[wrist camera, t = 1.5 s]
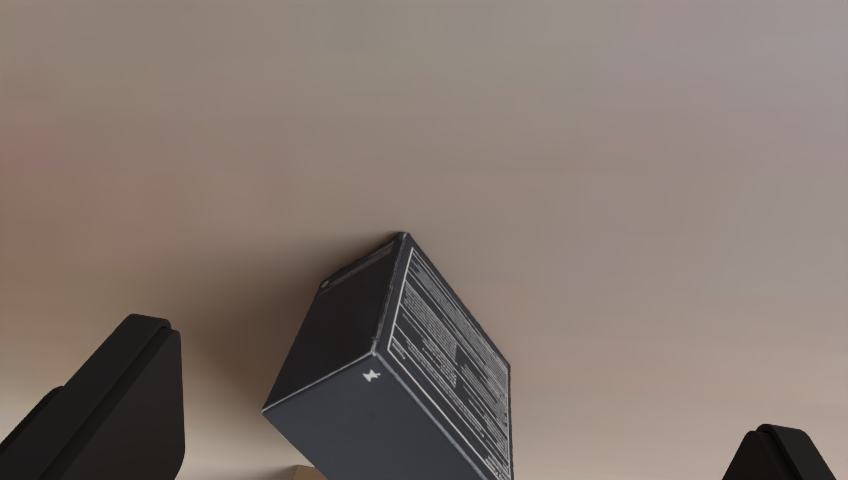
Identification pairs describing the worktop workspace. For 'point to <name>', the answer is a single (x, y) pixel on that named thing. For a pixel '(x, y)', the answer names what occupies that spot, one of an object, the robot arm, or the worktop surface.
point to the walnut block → (308, 474)
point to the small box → (394, 378)
